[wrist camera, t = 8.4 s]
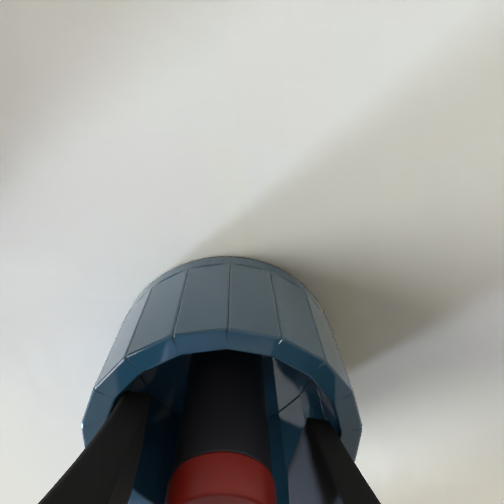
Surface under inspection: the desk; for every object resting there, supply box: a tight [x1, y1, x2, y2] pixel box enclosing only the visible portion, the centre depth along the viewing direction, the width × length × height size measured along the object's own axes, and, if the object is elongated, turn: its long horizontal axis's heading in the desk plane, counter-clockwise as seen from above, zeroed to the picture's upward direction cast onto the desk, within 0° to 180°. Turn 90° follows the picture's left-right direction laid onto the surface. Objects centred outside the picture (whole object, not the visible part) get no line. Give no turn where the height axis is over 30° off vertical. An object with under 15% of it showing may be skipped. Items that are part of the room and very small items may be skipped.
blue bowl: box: [81, 257, 362, 504], centre depth 12 cm, size 7×7×4 cm
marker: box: [165, 349, 277, 504], centre depth 11 cm, size 2×2×6 cm
